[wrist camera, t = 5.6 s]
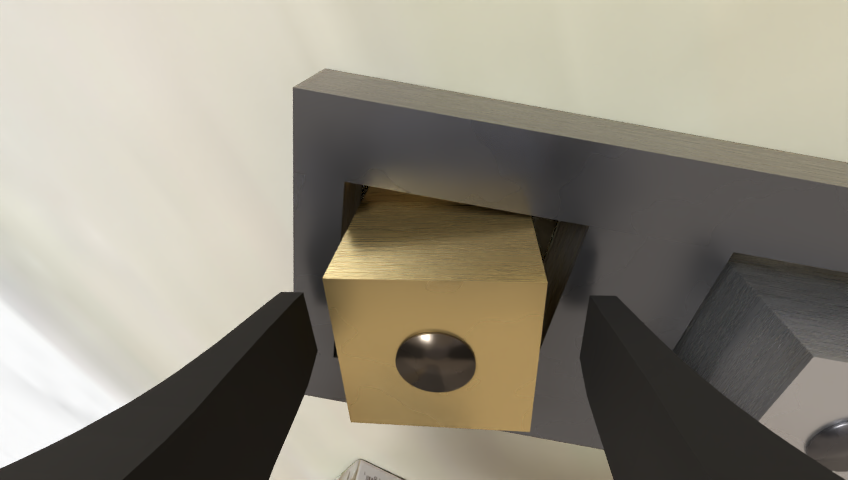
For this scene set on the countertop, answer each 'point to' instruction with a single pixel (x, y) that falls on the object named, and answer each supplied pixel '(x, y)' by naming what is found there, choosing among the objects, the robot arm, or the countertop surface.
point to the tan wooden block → (437, 313)
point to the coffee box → (365, 472)
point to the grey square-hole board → (557, 210)
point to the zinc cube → (778, 350)
